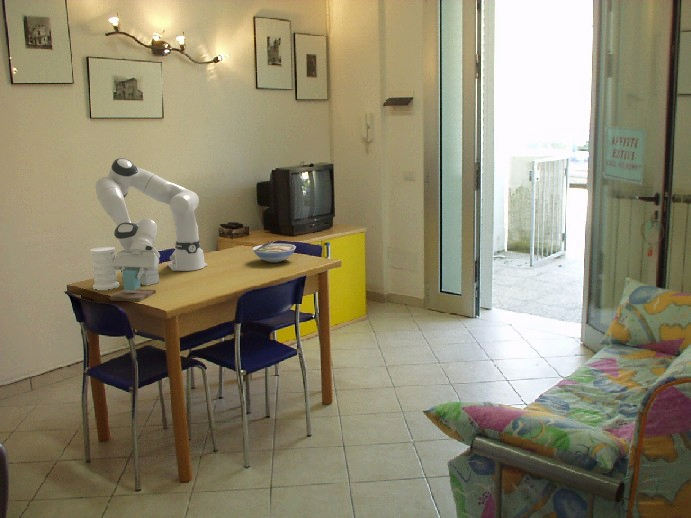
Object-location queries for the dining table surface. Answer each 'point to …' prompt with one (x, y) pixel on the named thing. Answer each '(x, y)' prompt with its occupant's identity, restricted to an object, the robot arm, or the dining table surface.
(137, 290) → the walnut board
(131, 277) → the teal block
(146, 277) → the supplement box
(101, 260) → the decorative container
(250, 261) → the dining table surface
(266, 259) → the ramen bowl
